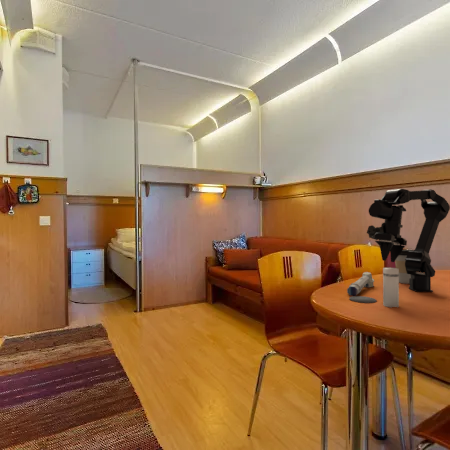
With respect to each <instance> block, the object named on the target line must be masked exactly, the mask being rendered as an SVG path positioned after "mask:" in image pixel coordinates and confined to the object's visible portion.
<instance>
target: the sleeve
mask: <svg viewBox="0 0 450 450" xmlns="http://www.w3.org/2000/svg"><path fill="white" fill-rule="evenodd" d="M399 284H400V283H399V269H398V268H396V267H382V286H383V287H382V299H383V300H382V301H383V303H382V304H383V306H384V307H387V308H392V307H397V308H399V307H400V305H399V304H400V301H399V300H400V293H399V290H400V289H399V288H400V285H399Z"/></svg>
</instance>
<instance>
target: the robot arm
mask: <svg viewBox="0 0 450 450" xmlns="http://www.w3.org/2000/svg"><path fill="white" fill-rule="evenodd" d="M417 200H419V201H420V207H421V208H422V209H423V215H424V218H425V219H424V220H425V221H424V223H423V225H422V228H421V232H420V234H419V237H418V241H417V242H416V245H415V247H414V248H415V249H413V250H414V251H409V252H408V253H407V257H406V259H405V260H406V261H405V268H406V272H407V274H411V278H410V279H409V285H408V289H409V290H412V291H415V292H417V293H418V292H419V293H420V292H421V293H422V292H424V293H426V292H430V293H431V292H433V293H434V290H433V289H431V288H432V287H431V282H432V281H431V279H432V278H434V277H435V276H436V275H435V274H436V270H435V269H434V268H433V266H432V264H431V263H432V259H431V256H430V252H431V248H432V246H433V245H432V244H433V242H434V240H435V236H436V234H437V230H438V228H439V225H440V223H441V222H442V221H443V220H445V219H446V218H447V217H448V215H449V212H450V204H449V202H448V201H447V200H446V198H444V197H443V196H441V195H440V194H438V193H436V190H434V189H422V190H409V189H405V188H398V189H389V190H386V191H385V193H384V195H383V196H382V198H380V199H379V198H378V199H374V200H373V201H374V202H373V203H372V204H371V205H370V206H369V208H368V214H369V216H371V217H372V218H376V219H380V220H384V222H382V223H381V225H380V226H377V227H376V226H374V225H372V224H371V225H368V227H367V230H366V234H367V235H368V238H369V239H370V238H371V239H372V240H374V242H375V243H376V244H377V245H378V246H379V250H380V254H381V255H380V256H381V261H384V262H385V261H386V260H387V259H388V257H389V255H390V262H391V263H395V260H396V258H397V257H398V255H399V254H400V252H401V251H402V250H403V249H405V247H406V246H407V243H408V240H407V239H406V238H405V237H402V235H401V229H402V228H403V226H404V225H403V224H402V218H403V212H404V213H405V212H407V209H406V207H404V205H403V204H406V203H409V202H411V201H417ZM427 200H431V201H427Z"/></svg>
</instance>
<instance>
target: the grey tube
mask: <svg viewBox="0 0 450 450" xmlns="http://www.w3.org/2000/svg"><path fill="white" fill-rule="evenodd" d="M374 283H375V279H374V278H373V276H372V273H371V272H368V271H364V272H363V273H362V276H361V277H359V279H357V280H356V281H354V282H352V283H351V284H349V286H348V288H347V289H346V292H347V294H348V295H349V296H351V297H352V296H358V295H359V294H360V293H361V292H362V290H363V288H373V287H374Z"/></svg>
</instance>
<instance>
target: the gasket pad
mask: <svg viewBox="0 0 450 450" xmlns="http://www.w3.org/2000/svg"><path fill="white" fill-rule="evenodd" d="M348 300H350V301H352V302H355V303H360V304H361V303H362V304H373V303H375V304H376V303H377V302H378V301H377V299H376V298H375V297H370V296H364V295H363V296H362V295H356V296H352V295H351V296H350V297H349V299H348Z"/></svg>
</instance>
